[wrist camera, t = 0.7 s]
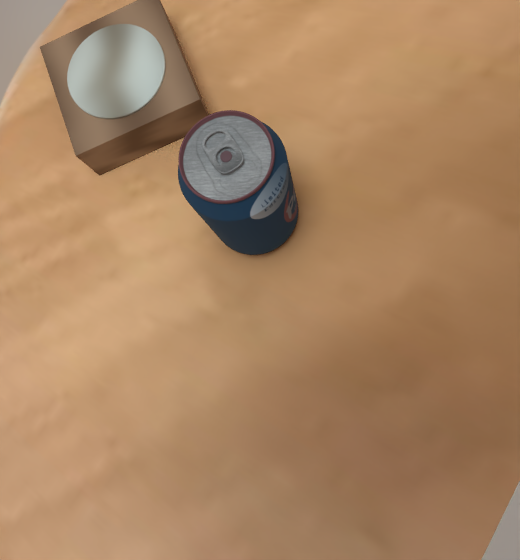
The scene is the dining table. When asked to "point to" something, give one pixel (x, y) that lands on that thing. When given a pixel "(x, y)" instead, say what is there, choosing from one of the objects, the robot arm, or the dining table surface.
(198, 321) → the dining table surface
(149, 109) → the plinth
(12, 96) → the dining table surface
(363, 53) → the dining table surface
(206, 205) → the soda can
